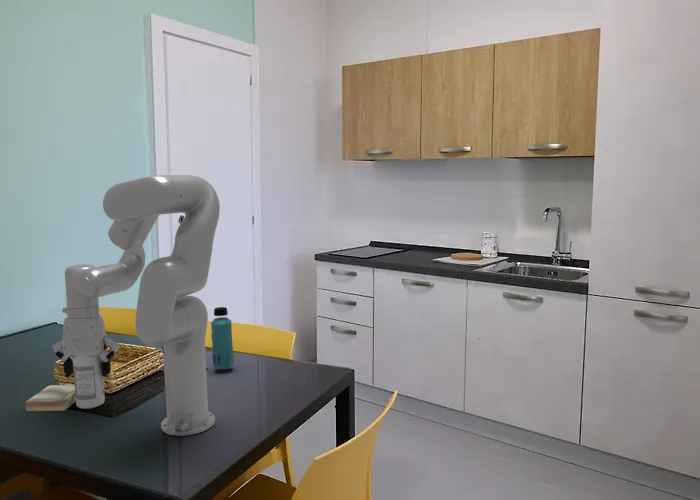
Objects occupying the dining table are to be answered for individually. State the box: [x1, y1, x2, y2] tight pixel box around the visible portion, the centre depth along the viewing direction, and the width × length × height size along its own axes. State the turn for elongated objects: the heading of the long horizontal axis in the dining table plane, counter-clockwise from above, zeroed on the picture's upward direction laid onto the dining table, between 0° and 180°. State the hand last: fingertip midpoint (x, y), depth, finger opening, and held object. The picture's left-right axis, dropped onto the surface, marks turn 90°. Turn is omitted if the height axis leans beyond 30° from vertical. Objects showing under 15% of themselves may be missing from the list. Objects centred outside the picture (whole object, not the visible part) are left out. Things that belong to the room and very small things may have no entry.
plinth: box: [24, 384, 76, 412], centre depth 152 cm, size 12×10×3 cm
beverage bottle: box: [210, 306, 235, 370], centre depth 174 cm, size 6×7×20 cm
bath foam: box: [72, 355, 106, 409], centre depth 149 cm, size 7×7×20 cm
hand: (87, 375), depth 149 cm, fingers open, 9 cm apart
